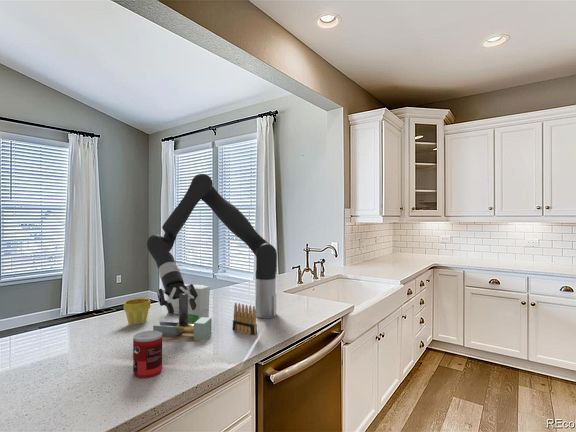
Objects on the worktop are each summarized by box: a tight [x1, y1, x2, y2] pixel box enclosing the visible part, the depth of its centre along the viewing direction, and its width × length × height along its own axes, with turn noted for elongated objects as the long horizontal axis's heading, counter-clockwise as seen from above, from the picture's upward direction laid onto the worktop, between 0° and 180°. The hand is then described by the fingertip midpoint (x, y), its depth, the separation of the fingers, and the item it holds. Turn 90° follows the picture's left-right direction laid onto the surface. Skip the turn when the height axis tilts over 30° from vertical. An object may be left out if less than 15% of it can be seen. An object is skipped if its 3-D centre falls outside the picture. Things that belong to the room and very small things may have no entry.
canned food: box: [132, 330, 163, 379], centre depth 99 cm, size 8×8×11 cm
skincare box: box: [187, 283, 211, 323], centre depth 145 cm, size 8×7×16 cm
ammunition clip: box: [232, 302, 258, 336], centre depth 130 cm, size 11×2×12 cm, turn 59°
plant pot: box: [123, 297, 151, 326], centre depth 142 cm, size 10×10×10 cm
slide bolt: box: [177, 293, 194, 334], centre depth 125 cm, size 11×3×14 cm, turn 82°
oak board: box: [162, 331, 213, 343], centre depth 126 cm, size 20×10×1 cm, turn 83°
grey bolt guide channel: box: [152, 320, 182, 338], centre depth 126 cm, size 9×5×4 cm, turn 82°
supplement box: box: [167, 283, 190, 315], centre depth 161 cm, size 7×7×13 cm
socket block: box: [193, 317, 212, 341], centre depth 125 cm, size 4×7×6 cm, turn 173°
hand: (183, 311), depth 125 cm, fingers open, 8 cm apart
